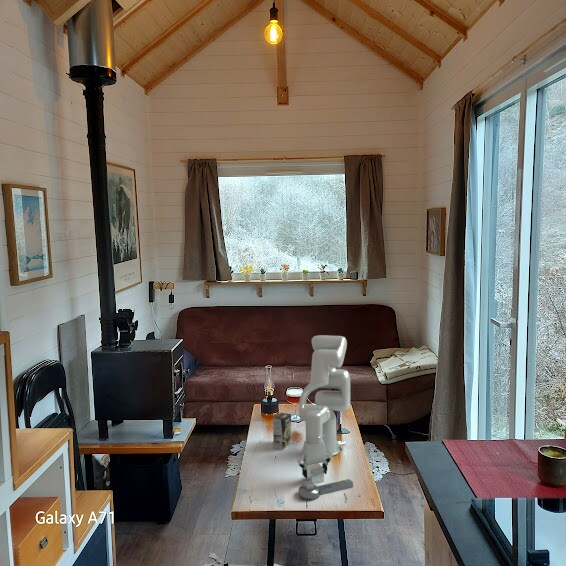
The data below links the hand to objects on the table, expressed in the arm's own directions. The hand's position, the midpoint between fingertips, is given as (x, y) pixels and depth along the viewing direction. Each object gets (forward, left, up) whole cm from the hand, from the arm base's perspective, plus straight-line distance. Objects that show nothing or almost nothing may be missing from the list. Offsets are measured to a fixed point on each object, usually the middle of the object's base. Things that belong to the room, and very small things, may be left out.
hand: (314, 474), depth 240 cm
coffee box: (0, -40, -3) cm, 40 cm away
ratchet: (0, +11, -3) cm, 11 cm away
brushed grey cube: (0, 0, -3) cm, 3 cm away
